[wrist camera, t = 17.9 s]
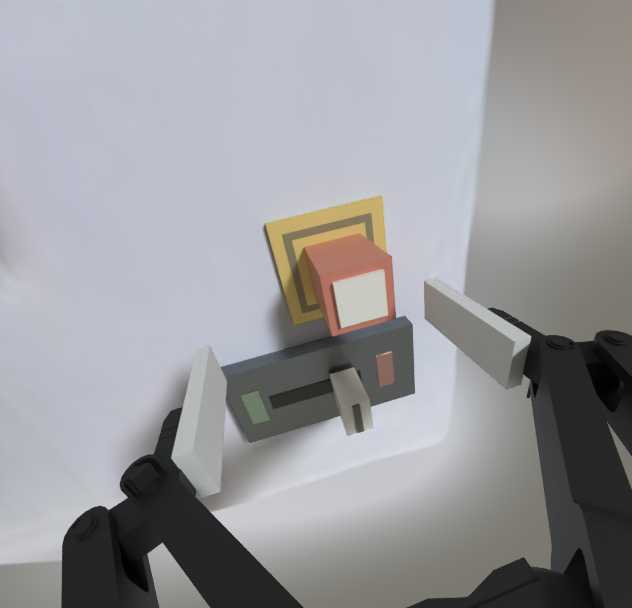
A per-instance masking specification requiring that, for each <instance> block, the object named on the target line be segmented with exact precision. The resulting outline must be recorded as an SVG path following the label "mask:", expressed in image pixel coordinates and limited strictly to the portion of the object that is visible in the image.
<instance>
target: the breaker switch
mask: <svg viewBox="0 0 632 608" xmlns="http://www.w3.org/2000/svg"><path fill="white" fill-rule="evenodd" d="M330 379H331V383H332V387H333V392H334V396H335V400H336V404H337V407H338V410H339V413H340V416H341V419H342V422H343V425H344V428H345V430H346V433H347V436H348V435H351V434H354V433H359V432H363V431H364V430H367V429H370V428H374V427H373V421H372V414H371V407H370V400H369V397H368V395H367V393H366V391H365V389H364V387H363V384H362V382H361V380H360V378H359V376H358V374H357V372H356V370H355V368H354V367H353V368H350V369H346V370H343V371H339V372H336V373H332V374H330Z"/></svg>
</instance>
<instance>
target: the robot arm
mask: <svg viewBox="0 0 632 608" xmlns="http://www.w3.org/2000/svg"><path fill="white" fill-rule="evenodd" d="M424 301H425V319H426V320H427V321H428V322H429V323H431V324H432V325H433V326H434V327H435V328H436V329H437V330H439V331H440V332H441V333H442V334H443V335H444V336H445V337H447V338H448V339H449V340H450V341H451V342H452V343H453V344H455V345H456V346H457V347H458V348H459V349H461V351H463V352H464V353H465V354H466V355H467V356H469V357H470V358H471V359H472V360H473V361H474V362H475V363H476V364H478V365H479V366H480V367H481V368H482V369H483V370H485V371H486V372H487V373H488V374H489V375H490V376H491V377H492V378H494V379H495V380H496V381H497V382H498V383H499V384H500V385H502V386H503V387H504V388H505V389H509V388H512V387H515V386H518V385H521V382H522V378H523V374H524V375H525V376H526V377H528V378H529V379H530V385H529V389H528V393H527V398H530V395H531V401H532V408H533V415H534V422H535V429H536V436H537V443H538V451H539V457H540V464H541V471H542V478H543V485H544V493H545V500H546V506H547V514H548V521H549V528H550V535H551V543H552V553H551V570H549V569H544V568H539V567H530V565H529V564H528V563H527V561H526V560H525V558H521V559H519V560H516V561H514V562H512V563H509V564H507V565H505V566H502V567H500V568H498V569H496V570H493V571H492V573H491V574H490V575H489V576H488V577H487V578H486V579H485V580H484V581H483V582H482V583H481V584H480V585H479V586H478V587H477V588H476V589H475V590H474V591H473V592H472V593H471V595H469V596H468V597H463V598H436V599H435V598H434V599H426V600H424V601H421V602H419V603H417V604H414V605H412V606H410V607H407V608H632V489H631V487H630V484H629V481H628V478H627V476H626V473H625V470H624V468H623V465H622V462H621V459H620V456H619V454H618V451H617V448H616V446H615V443H614V440H613V438H612V435H611V432H610V429H609V426H608V424H609V425H610V426H611V428H612V429H613V430H614V432H615V433H616V435H617V436H618V438H619V439H620V440H621V442H622V443H623V445H624V446H625V447H626V449H627V450H628V451H629V453H630V454H631V456H632V336H631V335H629V334H626V333H623V332H619V331H611V330H605V331H600V332H598V333H596V336H595V339H594V341H588V342H574V341H573V340H571V339H569V338H566V337H563V336H557V335H548V336H545V335H543V334H541V333H540V332H538V331H536V330H535V329H533V328H531V327H530V326H528V325H526V324H524V323H523V322H521V321H520V322H519V320H518V319H516V318H514V317H512V316H511V315H509V314H507V313H506V312H504V311H501V310H498V309H495V308H489V309H486V308H484V307H483V306H481V305H479V304H478V303H476V302H474V301H473V300H471V299H470V298H468V297H466V296H465V295H463V294H462V293H460V292H458V291H457V290H455V289H453V288H452V287H450V286H449V285H447V284H445V283H444V282H442V281H440V280H439V279H437V278H433V279H429V280H426V281H424ZM226 389H227V380H226V378H225V376H224V374H223V372H222V370H221V367H220V365H219V363H218V361H217V359H216V357H215V355H214V353H213V351H212V349H211V347H210V345H209V346H206V347H203V348H199V349H196V352H195V356H194V361H193V365H192V369H191V374H190V378H189V382H188V387H187V391H186V396H185V400H184V404H183V407H181V408H178V409H175V410H172V411H170V413H169V414H168V416H167V417H166V419H165V420H164V422H163V426H162V429H161V433H160V436H159V439H158V440H159V442H158V443H157V446H156V450H155V453H154V454H152V455H146V456H144V457H141V458H139V459H138V460H136V461H135V462H134V463H132V464H131V465H130V466H129V468H128V469H127V470H126V471H125V473H124V474H123V476H122V478H121V481H120V488H121V491H122V492H123V493H124V494H125V495H126V496H127V497H128V498H127V499H126V500H124V501H123V502H121V503H119V504H118V505H116V506H115V507H113V508H112V509H110V510H108V509H107V508H106V507H103V506H97V507H93V508H91V509H90V510H88V511H86V512H85V513H83V514H82V515H81V516H80V517H79V518H77V519H76V521H75V522H74V523H73V524H72V525H71V527H70V528H69V529H68V531H67V533H66V535H65V537H64V541H63V545H62V607H61V608H159V605H158V600H157V596H156V591H155V587H154V582H153V578H152V573H151V569H150V564H149V560H148V555H147V553H149V552H150V551H151V550H153V549H154V548H155V547H157V546H158V545H160V544H161V543H162V542H163V544H164V545H165V546H166V548H167V549H168V550H169V552H170V553H171V554H172V556H173V557H174V559H175V560H176V561H177V563H178V564H179V565H180V567H181V568H182V569H183V571H184V572H185V574H186V575H187V576H188V578H189V579H190V580H191V582H192V583H193V585H194V586H195V587H196V589H197V590H198V591H199V593H200V594H201V596H202V597H203V598H204V600H205V601H206V602H207V604H208V605H209V606H210V608H303V607H302V606H301V605H300V604H299V603H298V601H297V600H296V599H295V598H294V597H293V596H292V595H291V594H290V593H289V592H288V591H287V590H286V589H285V588H284V587H283V586H282V585H281V584H280V583H279V582H278V581H277V580H276V579H275V578H274V577H273V576H272V575H271V574H270V573H269V572H268V571H267V570H266V569H265V568H264V567H263V566H262V565H261V564H260V563H259V562H258V561H257V560H256V559H255V557H254V556H252V554H250V552H249V551H247V549H246V548H245V547H244V546H243V545H242V544H241V543H240V542H239V541H238V540H237V539H236V538H235V537H234V536H233V535H232V534H231V533H230V532H229V531H228V530H227V529H226V528H225V527H224V526H223V525H222V524H221V523H220V522H219V521H218V520H217V519H216V518H215V517H214V516H213V515H212V513H211V512H210V511H209V510H208V509H207V508H206V507H205V506H204V505H203V504H202V503H201V502H200V501H199V500H198V499H197V498H196V497H195V495H196V492H197V493H198V494H199V496H200V497H201V498H204V497H207V496H210V495H213V494H216V493H218V492H220V491H221V474H222V457H223V440H224V423H225V406H226ZM607 422H608V424H607Z"/></svg>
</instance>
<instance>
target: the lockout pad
mask: <svg viewBox="0 0 632 608" xmlns="http://www.w3.org/2000/svg"><path fill="white" fill-rule="evenodd" d="M265 225H266V228H267V232H268V235H269V239H270V243H271V246H272V250H273V253H274V257H275V260H276V264H277V268H278V271H279V275H280V278H281V282H282V286H283V289H284V293H285V296H286V300H287V304H288V307H289V311H290V314H291V318H292V321H293V325H298V324H302V323H305V322H309V321H313V320H316V319H320V318H324V317H323V315H322V312H321V310H320V308H319V305H318V303H317V301H316V298H315V295H314V290H313V286H312V281H311V277H310V272H309V268H308V263H307V259H306V254H305V250H304V247H306V246H310V245H314V244H318V243H322V242H326V241H330V240H334V239H338V238H342V237H346V236H350V235H354V234H358V233H360V234H361V235H363V236H364V237H366V238H367V239H368V240H370V241H371V242H372V243H374V244H375V245H377V246H378V247H379V248H381V249H382V250H384V251H385V252H386V253H387V251H386V238H385V225H384V211H383V198H382V196H376V197H372V198H368V199H364V200H360V201H355V202H351V203H347V204H343V205H339V206H335V207H331V208H327V209H322V210H318V211H314V212H310V213H306V214H302V215H298V216H294V217H289V218H285V219H281V220H277V221H273V222H269V223H265Z"/></svg>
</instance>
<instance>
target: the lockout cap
mask: <svg viewBox="0 0 632 608" xmlns="http://www.w3.org/2000/svg"><path fill="white" fill-rule="evenodd" d="M304 250H305V254H306V259H307V263H308V268H309V272H310V277H311V281H312V286H313V290H314V295H315V298H316V301H317V303H318V305H319V308H320V310H321V312H322V315H323V317H324V319H325V321H326V324H327V326H328V328H329V331H330V333H331V335H332V336H336V335H340V334H343V333H347V332H350V331H354V330H357V329H361V328H365V327H368V326H372V325H375V324H379V323H383V322H386V321H390V320H393V319H396V311H395V297H394V282H393V267H392V256H390V255H389V254H388V253H386V252H385V251H384V250H382V249H381V248H379V247H378V246H377V245H375V244H374V243H372V242H371V241H370V240H368V239H367V238H366V237H364V236H363V235H361V234H360V233H358V234H354V235H350V236H346V237H342V238H338V239H334V240H330V241H326V242H322V243H318V244H314V245H310V246H306V247H304Z"/></svg>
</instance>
